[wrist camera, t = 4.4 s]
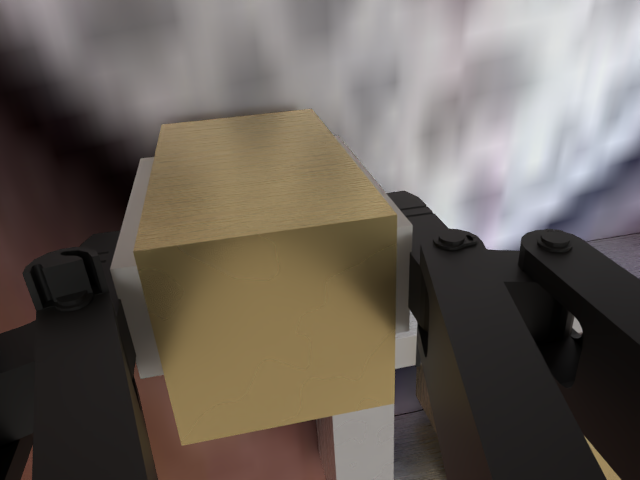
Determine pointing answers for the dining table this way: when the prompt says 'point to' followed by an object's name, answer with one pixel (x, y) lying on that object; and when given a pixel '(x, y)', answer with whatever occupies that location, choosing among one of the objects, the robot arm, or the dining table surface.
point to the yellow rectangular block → (266, 275)
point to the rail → (413, 428)
